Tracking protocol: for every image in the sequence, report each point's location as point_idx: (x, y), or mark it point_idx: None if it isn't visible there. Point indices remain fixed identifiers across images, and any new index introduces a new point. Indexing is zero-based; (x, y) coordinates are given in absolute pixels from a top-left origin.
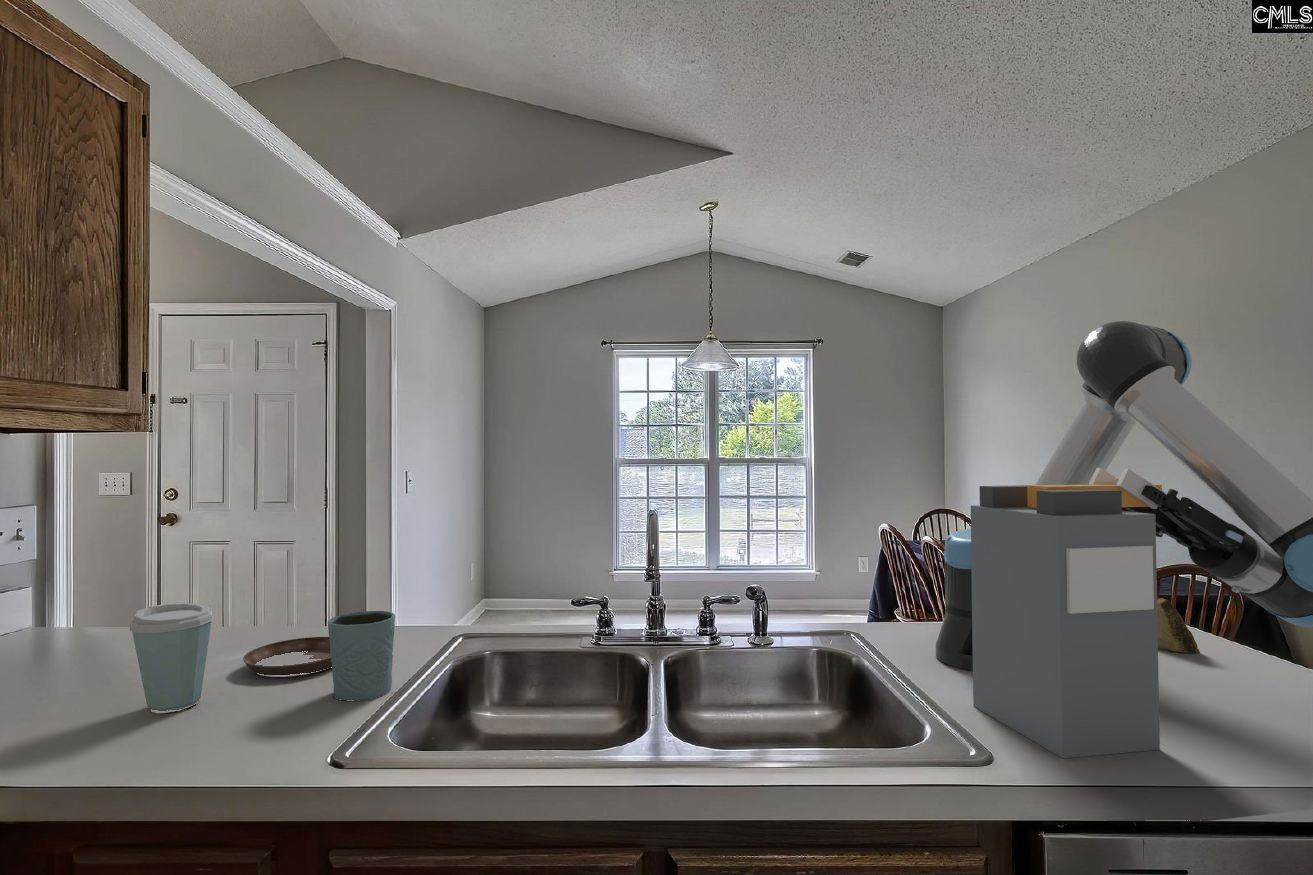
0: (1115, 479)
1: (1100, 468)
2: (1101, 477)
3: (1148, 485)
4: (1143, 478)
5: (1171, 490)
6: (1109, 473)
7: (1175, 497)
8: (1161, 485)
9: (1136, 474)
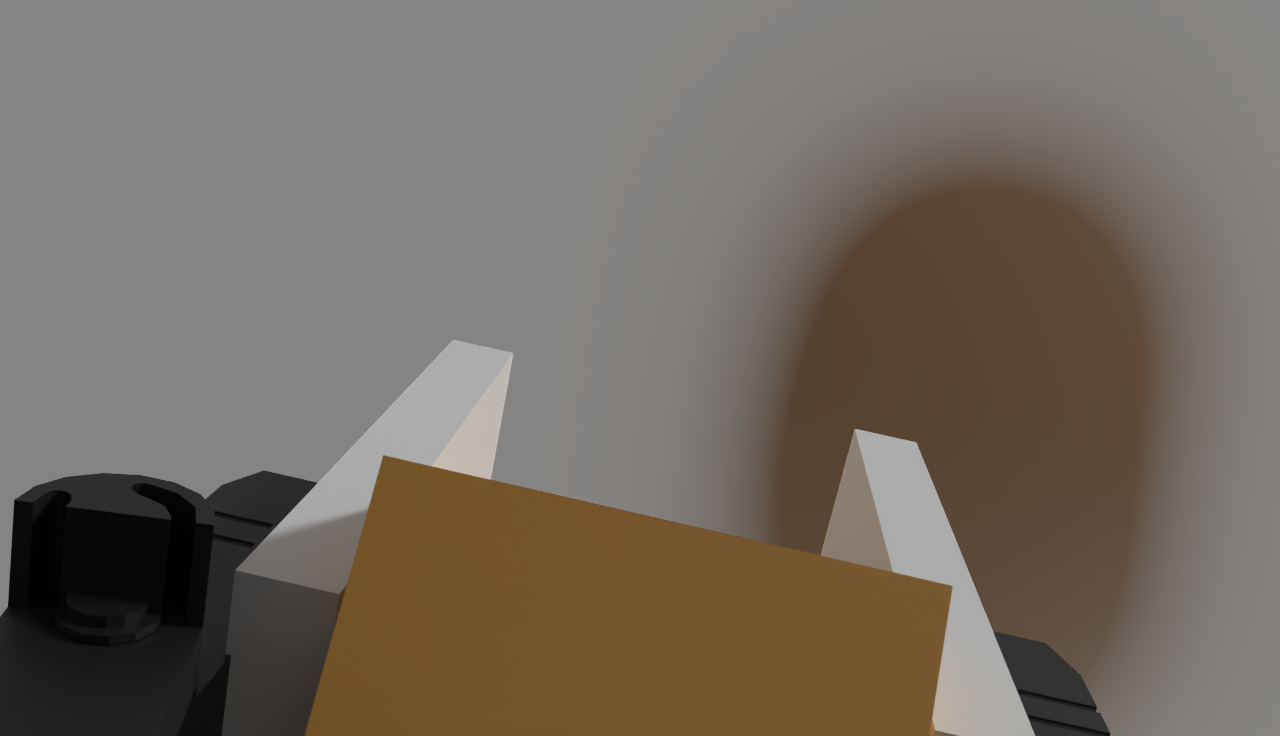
0: (870, 548)
1: (853, 436)
2: (836, 541)
3: (307, 481)
4: (391, 406)
5: (131, 502)
6: (868, 477)
7: (10, 625)
8: (384, 466)
9: (425, 378)
